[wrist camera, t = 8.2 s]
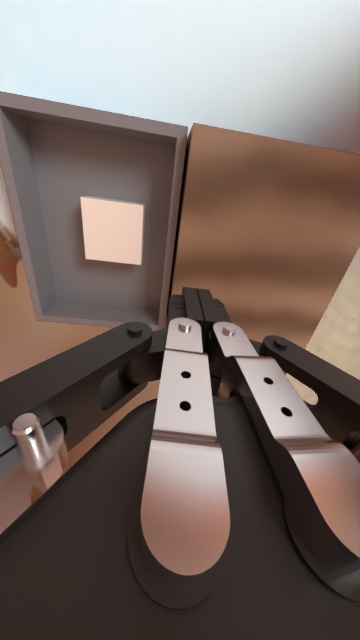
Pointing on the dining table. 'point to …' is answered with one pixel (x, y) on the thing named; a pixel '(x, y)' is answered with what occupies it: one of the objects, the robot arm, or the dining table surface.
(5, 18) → the dining table surface
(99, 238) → the tile
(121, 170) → the box
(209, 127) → the brown wooden box
